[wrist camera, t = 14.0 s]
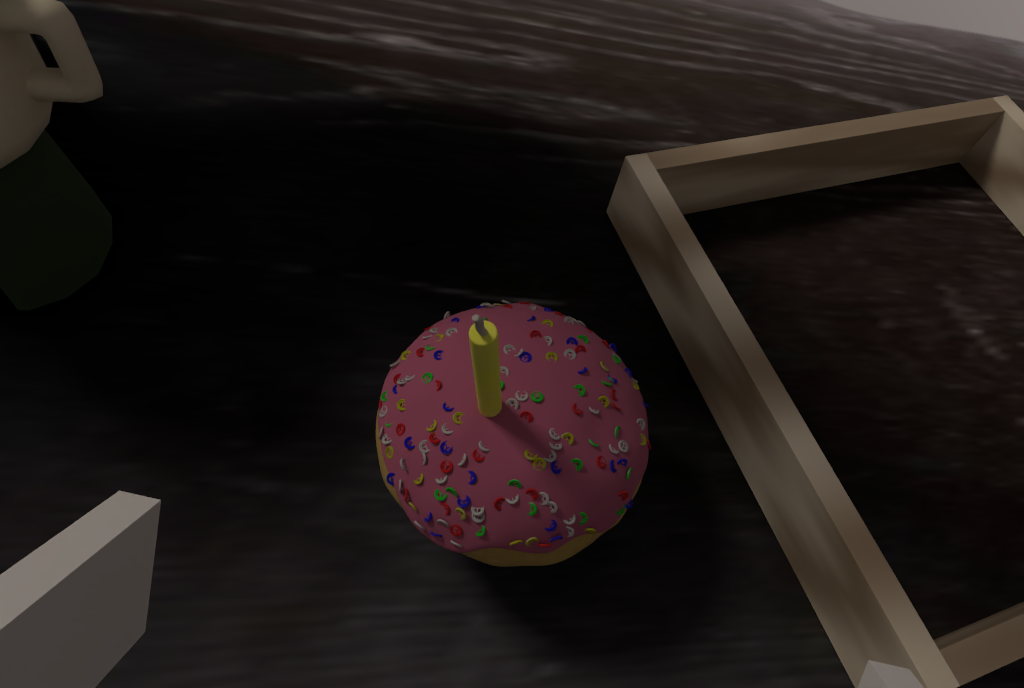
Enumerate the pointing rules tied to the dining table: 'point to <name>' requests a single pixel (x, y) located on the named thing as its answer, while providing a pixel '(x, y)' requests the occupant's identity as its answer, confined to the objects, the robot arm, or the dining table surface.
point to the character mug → (44, 160)
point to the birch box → (759, 392)
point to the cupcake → (512, 434)
